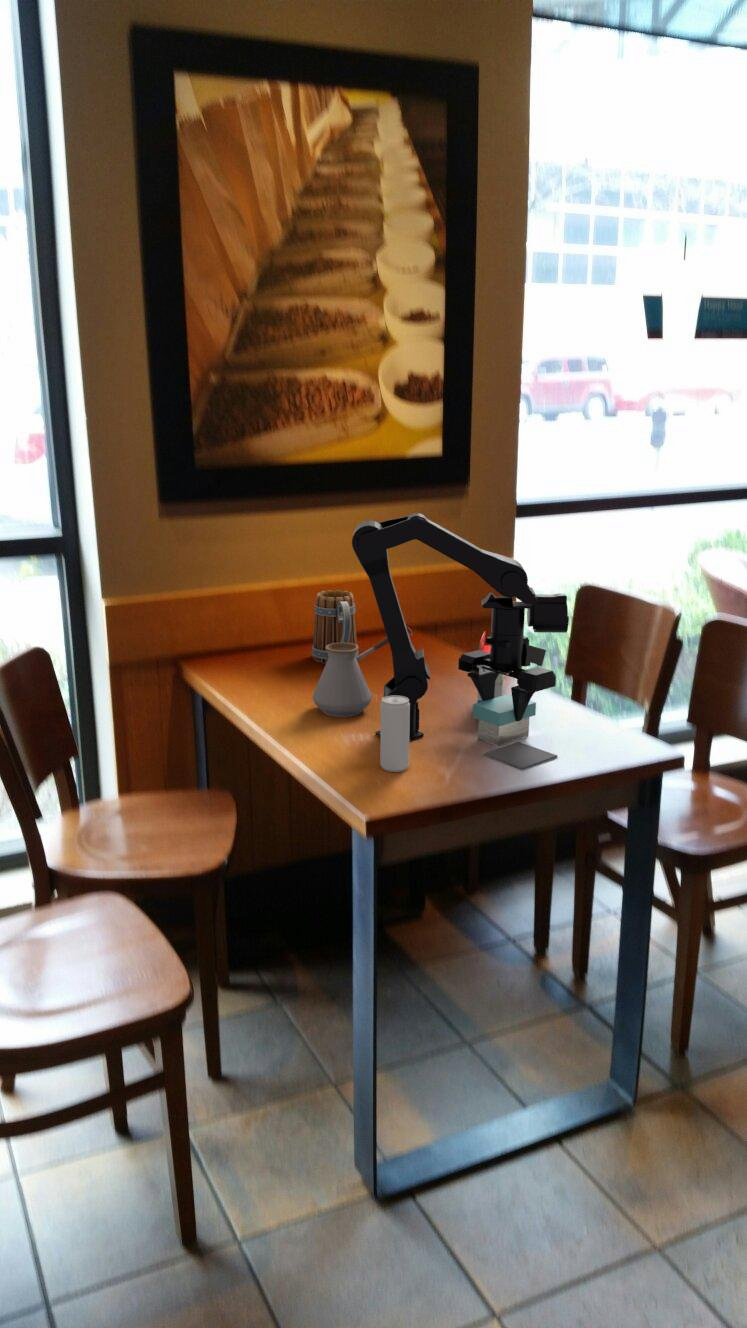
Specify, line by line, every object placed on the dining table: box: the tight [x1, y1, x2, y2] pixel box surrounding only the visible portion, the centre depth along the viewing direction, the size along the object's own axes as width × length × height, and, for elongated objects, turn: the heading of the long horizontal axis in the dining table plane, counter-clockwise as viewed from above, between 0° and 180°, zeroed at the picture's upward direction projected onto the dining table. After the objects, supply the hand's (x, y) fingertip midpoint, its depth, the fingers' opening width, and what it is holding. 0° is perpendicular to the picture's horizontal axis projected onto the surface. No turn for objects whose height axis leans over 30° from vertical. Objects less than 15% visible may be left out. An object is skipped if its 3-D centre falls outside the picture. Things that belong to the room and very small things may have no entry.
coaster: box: [482, 741, 558, 771], centre depth 186 cm, size 9×9×1 cm
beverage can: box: [379, 695, 410, 773], centre depth 180 cm, size 5×5×12 cm
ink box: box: [476, 631, 507, 703], centre depth 209 cm, size 8×5×15 cm, turn 169°
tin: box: [477, 717, 530, 747], centre depth 195 cm, size 8×5×5 cm, turn 131°
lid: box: [472, 693, 537, 726], centre depth 194 cm, size 9×7×2 cm
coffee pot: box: [312, 625, 414, 718], centre depth 210 cm, size 21×12×15 cm, turn 121°
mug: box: [311, 589, 359, 665], centre depth 241 cm, size 16×11×15 cm
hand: (504, 715), depth 195 cm, fingers closed on lid, 7 cm apart
